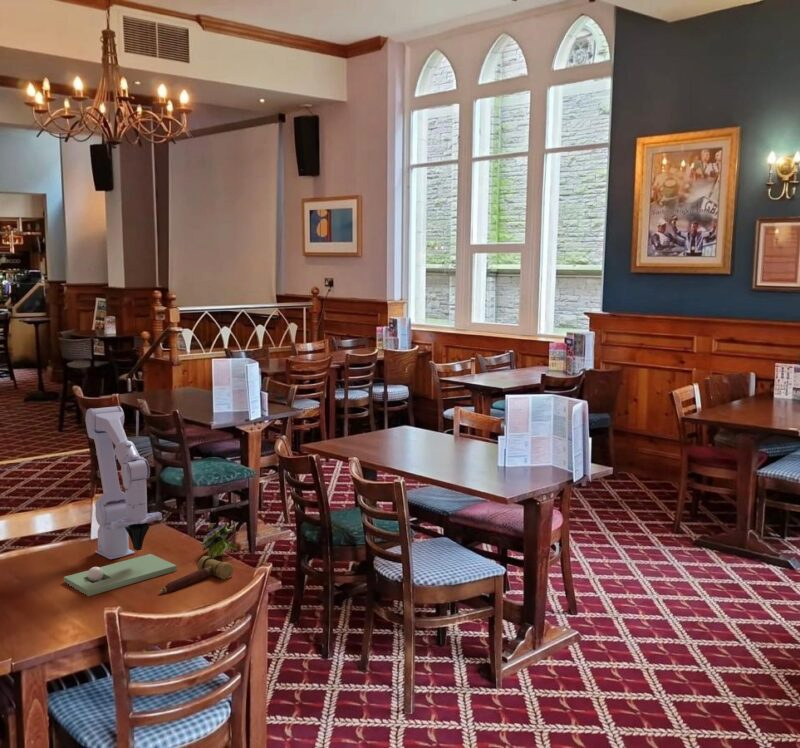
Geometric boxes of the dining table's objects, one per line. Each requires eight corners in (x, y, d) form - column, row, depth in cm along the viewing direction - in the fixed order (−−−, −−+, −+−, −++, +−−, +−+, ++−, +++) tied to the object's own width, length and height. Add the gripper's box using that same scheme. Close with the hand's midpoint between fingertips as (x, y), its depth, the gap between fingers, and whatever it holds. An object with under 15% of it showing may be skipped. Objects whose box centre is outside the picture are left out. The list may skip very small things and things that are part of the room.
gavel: (170, 588, 212) (147, 579, 218) (172, 605, 213) (148, 595, 219) (233, 561, 228) (209, 553, 234) (234, 576, 229) (210, 568, 235)
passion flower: (211, 568, 249) (215, 530, 255) (244, 565, 247) (247, 526, 252) (192, 558, 240) (197, 519, 246) (226, 554, 237) (230, 515, 243)
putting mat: (64, 582, 223) (63, 576, 223) (150, 558, 242) (150, 553, 242) (88, 596, 214) (88, 590, 213) (176, 570, 232) (176, 565, 232)
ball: (97, 582, 225) (84, 582, 222) (98, 567, 226) (84, 567, 223) (106, 581, 223) (92, 581, 220) (106, 565, 224) (93, 565, 221)
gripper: (118, 510, 223) (120, 559, 224) (166, 500, 233) (168, 546, 235) (106, 505, 227) (108, 552, 229) (154, 495, 238) (155, 540, 240)
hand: (137, 549), depth 232 cm, fingers closed
